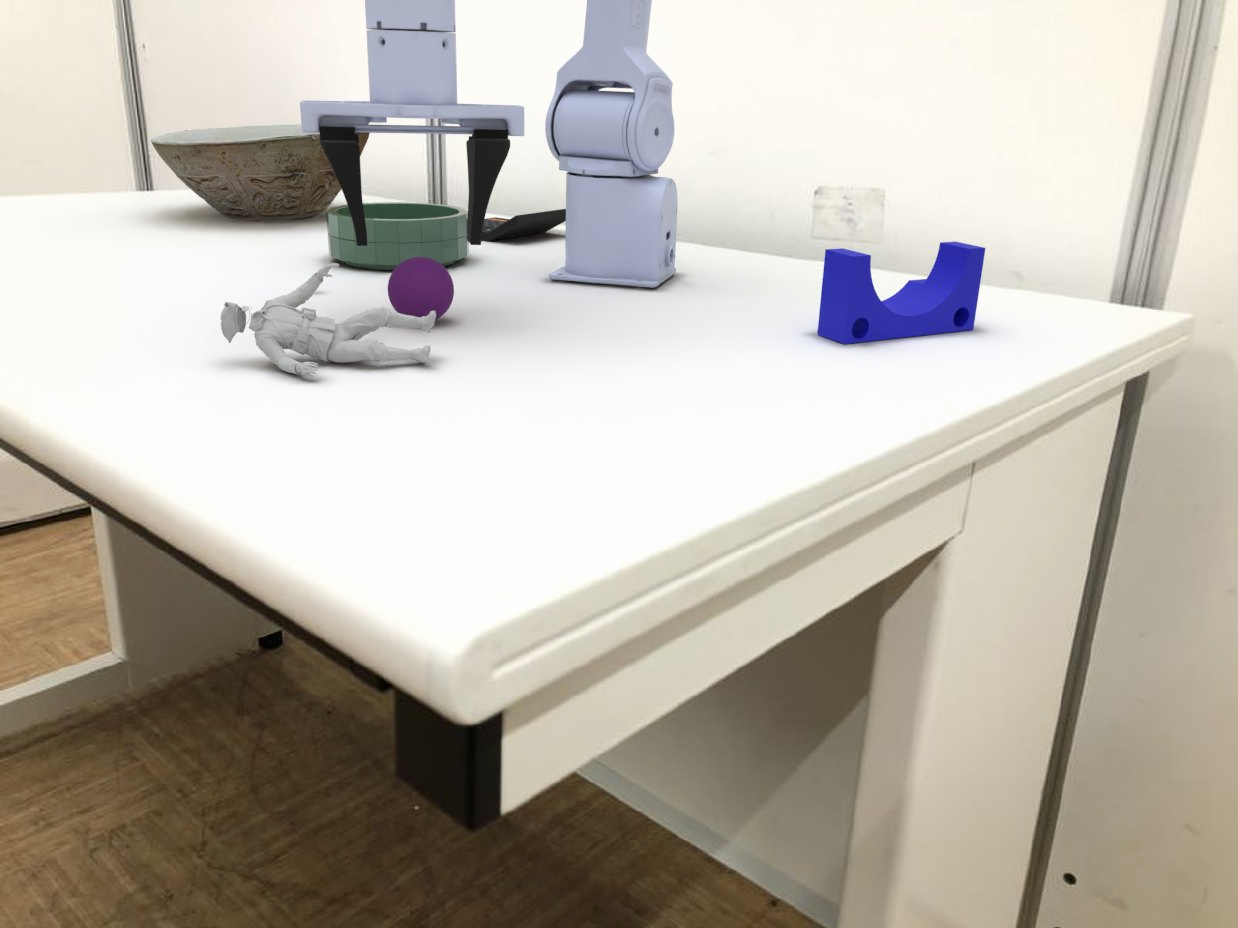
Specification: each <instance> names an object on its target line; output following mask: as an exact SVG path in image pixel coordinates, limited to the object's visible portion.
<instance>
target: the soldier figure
mask: <svg viewBox="0 0 1238 928" xmlns="http://www.w3.org/2000/svg"><path fill="white" fill-rule="evenodd" d="M338 267H340V264H339V263H336V262H332V263H326V264H325V265H324V266H323V267H321V268H319V269H318V271H317V272H315V273H313V274H312V275H311V276H310V277H309V278H308V279H307V280H306V281H305V282H304V283H302V284H301V285H300V286H298V287H296V289H295V290H292V291H291V292H290V293H287V294H284V295H283V294H282V295H280V296H278V297H275V298H272V299H269V300H266V301H265V303H264V305H263V306H262V308H261V309H259V310H257V311H255V312H253V313H251V310H252V309H253V308H252V307H250V306H247V305H242V306H239V305H238V304H237V303H235V302H230V301H225V302H224V303H223V306H224V307H223V309H221V313H220V330H221V332H222V335H223V337H224V338H225V339H226V340H227V341H228V344H231V343H232V341H233V339H234V338H235V336H236V335H237V333H240V334H243V333H244V332H245V329H246V326H247V324H248V322H249V325H248V329H250V330H251V331H253V332H254V339H255V340H254V341H255V345H256V346H257V347H258V349H259V350H260V351H261V352H262V353H263V354H264V355H265V356H266V358H269V360H270V361H272V363H273V364H274V365H276V366H277V367H278V369H279V370H281V371H283V372H286V373H289V374H295V375H304V376H306V377H308V378H309V377H310V378H315V375H316V374H317V371H318V369H319V363H318V362H314V361H303V362H302V361H301V362H300V361H297V360H295V359H293V358H292V357H290V356H289V355H288V354H287V353H286V352H285V350H291V351H293V352H295V353H297V354H300V355H302V356H304V355H307V356H309V357H311V358H314V359H319V360H321V361H323V362H325V363H332V362H333V363H338V364H347V363H355V362H361V361H373V362H380V363H382V364H383V363H385V362H389V361H390V362H391V361H404V360H405V361H406V360H412V361H413V360H414V361H416V362H418V363H423V364H425V363H426V362H428V360H429V358H430V354H431V345H424V346H423V347H422V348H419V347H418V348H417V347H416V348H413V349H408V348H399V347H395V346H391V345H385V343H383V342H379V341H378V340H377V339H375V338H366V339H362V340H360V339H361V338H363V337H364V336H365V335H369V334H370V333H373V332H376V331H377V330H379V329H380V328H389V329H390V328H414V329H416V328H418V329H419V330H420V331H422V332H426V333H430V332H431V330H432V328H433V327H434V325H435V323H436V320H435V318H436V311H431V312H430V313H429V315H427V316H422V317H421V318H420V317H415V316H410V315H404V314H400V313H397V312H396V311H395V310H390V309H388V308H387V307H384V306H380V307H372V308H370V309H366V310H364V311H362V312H359V313H357V314H354V315H352V316H350V317H348V318H346V319H345V320H344V321H343V322H340V323H336V321H335V318H332V317H328V316H318V315H317V311H316V309H313V308H308V307H301V310H299V309H297V308H298V307H299V306H302V305H304V304H306V302H307V301H309V300H310V298H312V296H313V295H314V294H315V292H316V291H317V290H318V289H319V287H320V285H321V284H323V282H324V277H327V278H331V277H333V275H332V274H329V272H330V270H331V269H332V268H338ZM247 311H249V314H248V316H249V319H248V321H247V314H246V312H247Z"/></svg>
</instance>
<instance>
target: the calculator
mask: <svg viewBox="0 0 1238 928" xmlns="http://www.w3.org/2000/svg"><path fill="white" fill-rule="evenodd" d="M563 223H566V208H562V209H553V210H545V211H539V212H531V213H525V214H524V213H523V214H517V215H514V216H512V217H511V218H503V217H488V218H485V219H484V223H483V229H482V237H481V241H483V242H484V241H485V242H492V241H497V240H505V239H511V238H517V237H523V236H529V235H530V236H531V235H536V234H541V233H542V234H543V233H547V232H548V231H550V230H553V229H554V228H556V227H558V226H559V225H561V224H563Z"/></svg>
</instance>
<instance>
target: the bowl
mask: <svg viewBox="0 0 1238 928" xmlns="http://www.w3.org/2000/svg"><path fill="white" fill-rule="evenodd" d="M355 133H358V132H355ZM370 135H371V133H358V136H359V147H360V157H361V155H362V154H363V152H364V149H365V147H366V145H367V143H368V140H369V138H370ZM150 139H151V140H150V141H151V145H152V146H153V149H155V151H156V153H157V154H158V156H159V157H160V158H161V160H162V161H163V162H164V163H165V164H166V166H168V168H169V169H170V170H171V171H172V172H173V173H174V174H175V176H176V177H177V178H178V179H179V180H180V181H181V182H182V183H183V184H184V185H185V186H186V187H187V188H189V189H190V190H191V191H192V192H193V193H194V194H196V195H197V197H199V198H201V199H202V200H204V201H205V202H206V203H207V204H208V205H209V206H210V207H211V208H212V209H214V210H215V211H216V212H218V213H219V214H221V215H222V216H224V217H227V218H230V219H235V220H243V221H269V220H270V221H271V220H272V221H274V220H275V221H277V220H289V219H299V218H305V217H311V216H315V215H316V216H317V215H319V214H321V213H324V211H326V210H327V208H329V206H330V205H331V204H332V203H333V202H334V200H335V199H336V198H337V196H338V194H339V193H340V192H341V191H342V189H341V186H340V184H339V181H338V179H337V177H336V175H335V173H334V170H333V168H332V166H331V164H330V162H329V160H328V158H327V156H326V154H325V152H324V150H323V148H322V146H321V144H320V132H319V133H304V132H302V125H301V124H271V125H270V124H269V125H247V126H246V125H245V126H242V125H241V126H233V127H232V126H231V127H215V128H213V127H212V128H210V127H209V128H195V129H185V130H181V131H176V132H169V133H165V134H163V135H158V136H154V137H152V138H150Z"/></svg>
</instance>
